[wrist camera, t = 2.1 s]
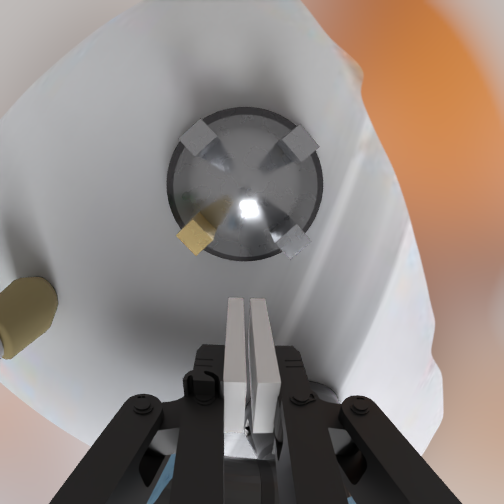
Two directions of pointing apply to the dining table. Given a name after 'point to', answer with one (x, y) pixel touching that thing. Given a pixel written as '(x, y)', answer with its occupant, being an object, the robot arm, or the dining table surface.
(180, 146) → the mounting flange
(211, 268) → the dining table surface
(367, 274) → the dining table surface
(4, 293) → the squeeze bottle
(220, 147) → the four-lug metal disc
